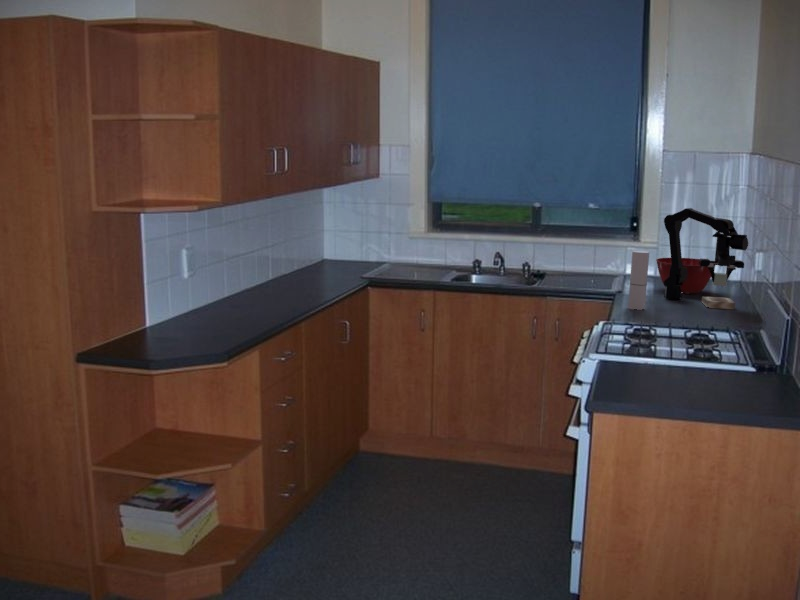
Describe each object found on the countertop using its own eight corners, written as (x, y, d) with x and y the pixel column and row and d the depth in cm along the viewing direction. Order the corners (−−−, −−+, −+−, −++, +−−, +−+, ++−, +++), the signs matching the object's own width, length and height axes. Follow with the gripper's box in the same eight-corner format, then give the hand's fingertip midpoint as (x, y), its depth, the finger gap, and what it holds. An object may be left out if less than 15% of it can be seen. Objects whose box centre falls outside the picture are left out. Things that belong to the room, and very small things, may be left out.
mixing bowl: (649, 293, 433) (652, 261, 430) (657, 285, 459) (659, 255, 456) (711, 299, 422) (714, 266, 419) (715, 290, 448) (718, 259, 445)
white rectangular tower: (643, 307, 396) (647, 251, 391) (645, 310, 389) (650, 253, 384) (626, 306, 396) (631, 250, 392) (629, 309, 389) (633, 252, 385)
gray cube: (714, 285, 400) (715, 274, 399) (712, 283, 405) (713, 272, 404) (726, 285, 399) (727, 274, 398) (723, 284, 404) (724, 273, 403)
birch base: (706, 307, 399) (707, 300, 399) (701, 302, 411) (702, 296, 410) (734, 309, 398) (735, 302, 397) (728, 304, 409) (729, 297, 409)
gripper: (704, 248, 392) (700, 283, 395) (748, 251, 390) (745, 286, 393) (699, 245, 403) (696, 280, 406) (743, 248, 401) (739, 282, 403)
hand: (719, 282), depth 402 cm, fingers closed on gray cube, 5 cm apart
